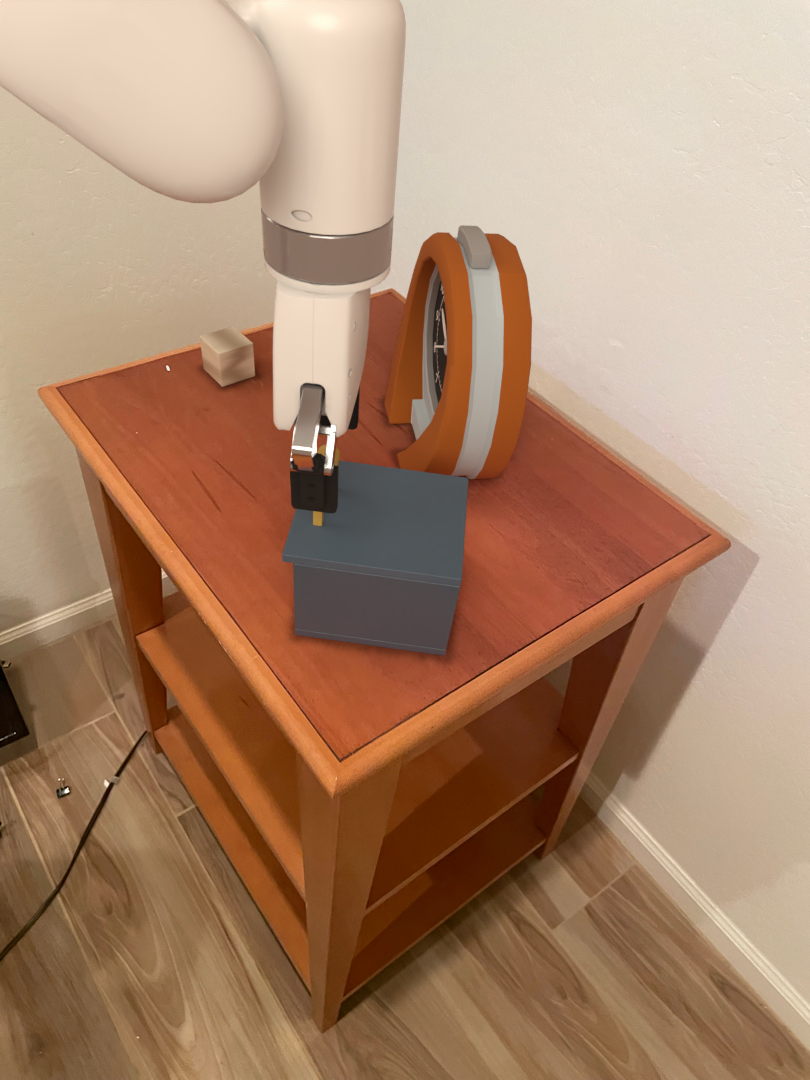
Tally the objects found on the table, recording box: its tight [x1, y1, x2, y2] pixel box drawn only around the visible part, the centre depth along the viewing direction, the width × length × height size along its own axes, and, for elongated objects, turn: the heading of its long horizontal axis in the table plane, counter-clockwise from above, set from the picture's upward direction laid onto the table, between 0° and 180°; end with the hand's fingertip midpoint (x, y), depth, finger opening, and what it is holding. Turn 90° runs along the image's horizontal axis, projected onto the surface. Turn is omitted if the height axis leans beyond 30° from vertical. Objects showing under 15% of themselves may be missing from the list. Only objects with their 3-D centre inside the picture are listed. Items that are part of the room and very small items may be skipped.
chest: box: [292, 563, 461, 657], centre depth 62 cm, size 13×12×9 cm
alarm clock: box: [383, 224, 533, 480], centre depth 73 cm, size 22×10×23 cm, turn 9°
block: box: [199, 326, 256, 388], centre depth 85 cm, size 4×4×4 cm
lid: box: [281, 444, 469, 587], centre depth 57 cm, size 13×12×5 cm
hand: (327, 464), depth 55 cm, fingers open, 9 cm apart
